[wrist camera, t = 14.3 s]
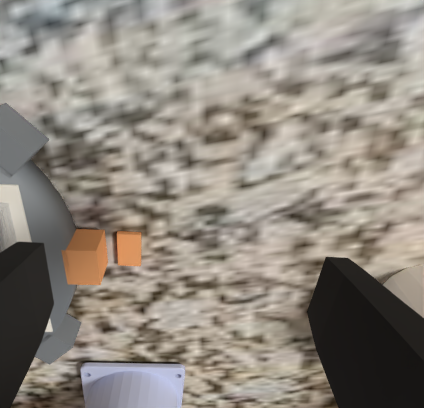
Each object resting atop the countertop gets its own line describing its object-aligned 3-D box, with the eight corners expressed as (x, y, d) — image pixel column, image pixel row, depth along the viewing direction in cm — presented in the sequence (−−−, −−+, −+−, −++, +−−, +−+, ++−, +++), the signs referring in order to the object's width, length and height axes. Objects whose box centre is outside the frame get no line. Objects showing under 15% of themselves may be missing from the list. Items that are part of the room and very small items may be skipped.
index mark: (141, 263, 22) (140, 266, 21) (118, 262, 21) (118, 265, 21) (141, 232, 20) (140, 234, 20) (117, 230, 20) (116, 233, 20)
